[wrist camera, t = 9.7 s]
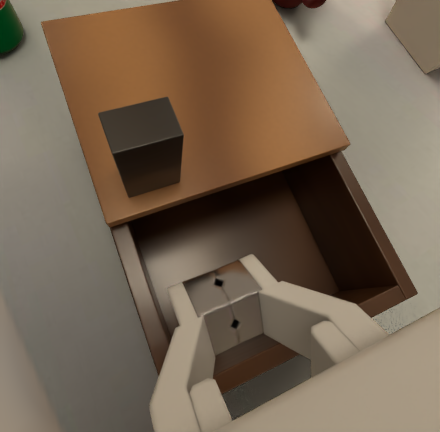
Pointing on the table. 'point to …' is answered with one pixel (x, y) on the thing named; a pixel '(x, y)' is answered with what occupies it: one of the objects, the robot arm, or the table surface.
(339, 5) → the table surface
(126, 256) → the storage box
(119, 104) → the sliding lid
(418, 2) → the soap bottle
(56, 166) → the table surface
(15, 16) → the soda can
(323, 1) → the mug
